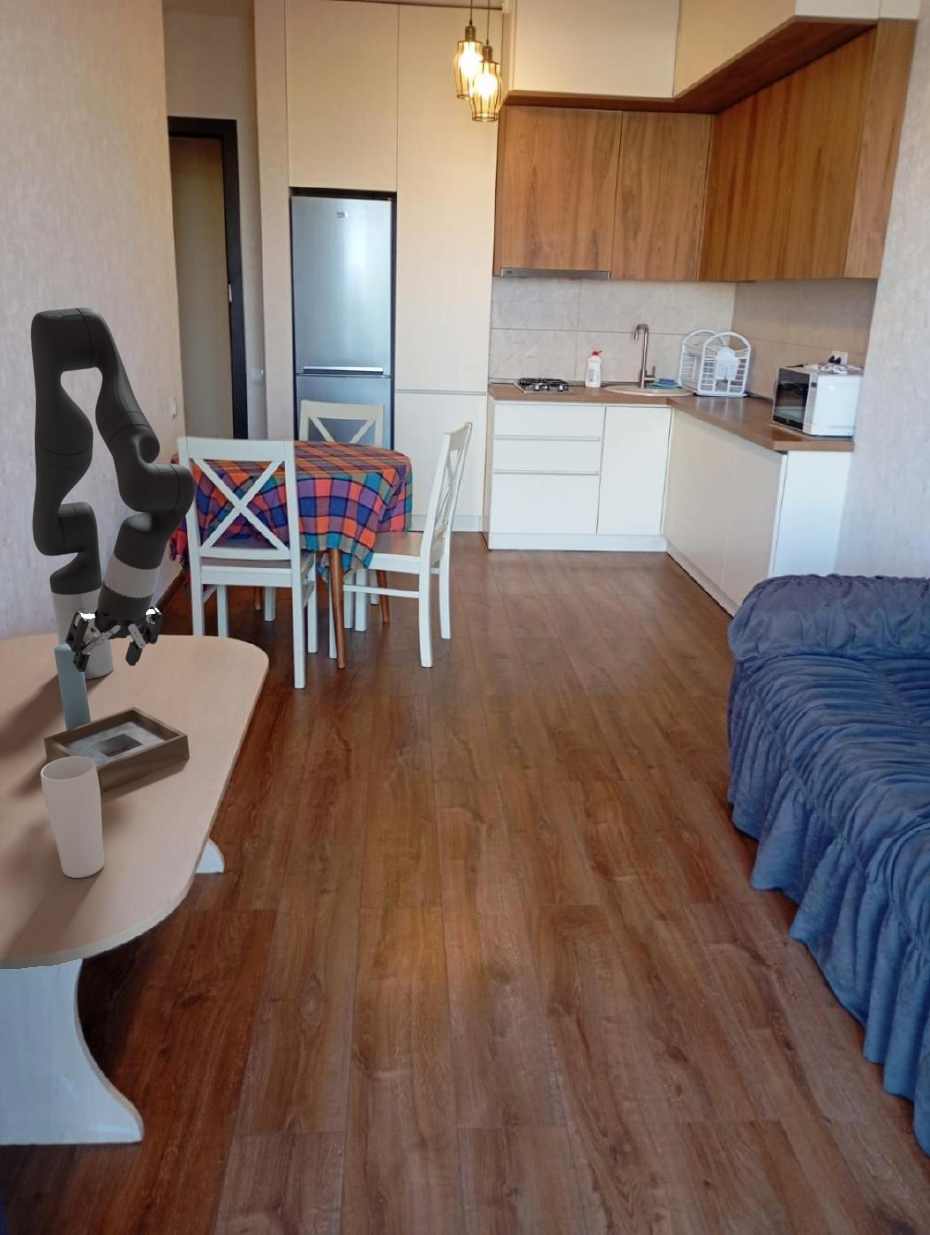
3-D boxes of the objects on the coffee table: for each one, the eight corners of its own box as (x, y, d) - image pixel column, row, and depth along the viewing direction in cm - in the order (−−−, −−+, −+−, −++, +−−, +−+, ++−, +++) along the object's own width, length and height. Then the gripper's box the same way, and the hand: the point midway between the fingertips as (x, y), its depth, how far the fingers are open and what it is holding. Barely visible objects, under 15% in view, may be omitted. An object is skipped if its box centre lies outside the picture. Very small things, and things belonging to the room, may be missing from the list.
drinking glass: (47, 869, 132) (30, 768, 127) (95, 848, 137) (80, 750, 132) (71, 889, 128) (55, 786, 123) (120, 867, 133) (106, 766, 127)
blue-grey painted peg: (63, 736, 169) (49, 648, 163) (85, 728, 172) (72, 641, 166) (74, 743, 166) (61, 654, 161) (97, 735, 169) (84, 647, 164)
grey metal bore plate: (54, 760, 161) (52, 746, 160) (135, 730, 171) (133, 717, 170) (100, 790, 152) (97, 776, 151) (182, 757, 162) (181, 743, 161)
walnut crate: (47, 760, 161) (43, 738, 159) (137, 727, 172) (134, 706, 170) (97, 794, 150) (94, 771, 149) (189, 757, 162) (187, 734, 160)
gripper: (160, 566, 159) (135, 647, 166) (74, 569, 149) (51, 656, 156) (183, 593, 155) (156, 675, 162) (96, 598, 145) (72, 686, 152)
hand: (105, 665), depth 159 cm, fingers open, 8 cm apart
